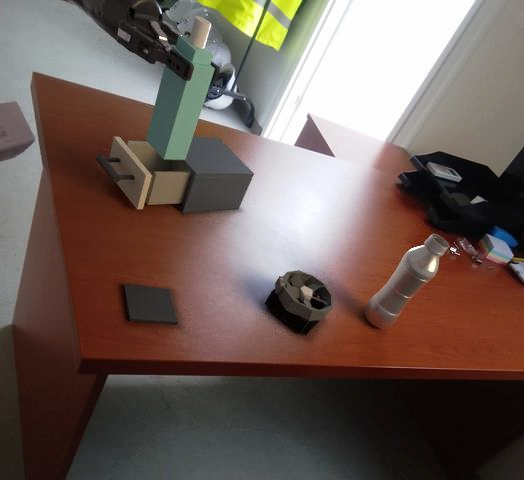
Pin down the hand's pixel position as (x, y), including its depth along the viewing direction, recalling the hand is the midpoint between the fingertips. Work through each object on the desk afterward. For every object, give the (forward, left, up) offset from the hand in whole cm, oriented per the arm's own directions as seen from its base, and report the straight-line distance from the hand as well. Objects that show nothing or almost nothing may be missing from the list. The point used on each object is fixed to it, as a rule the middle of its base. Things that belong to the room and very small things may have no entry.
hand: (203, 74), depth 63 cm
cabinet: (-3, +18, -26) cm, 32 cm away
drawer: (-8, +7, -26) cm, 28 cm away
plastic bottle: (+42, +15, -27) cm, 52 cm away
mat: (+10, -17, -26) cm, 33 cm away
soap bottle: (-3, +1, -13) cm, 13 cm away
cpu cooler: (+28, +2, -27) cm, 39 cm away
